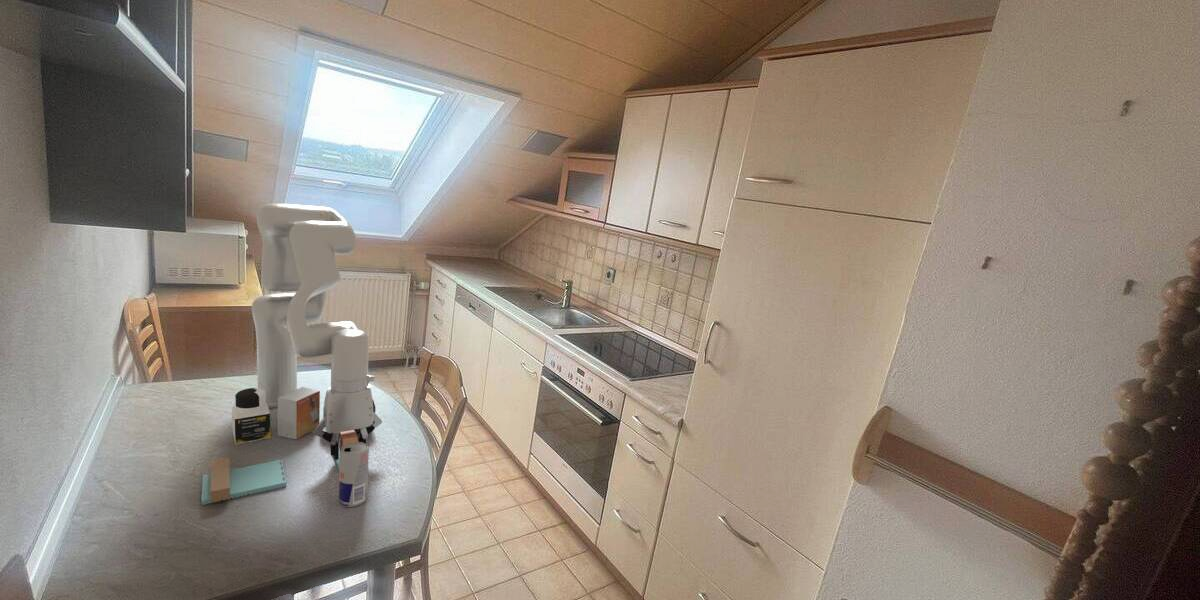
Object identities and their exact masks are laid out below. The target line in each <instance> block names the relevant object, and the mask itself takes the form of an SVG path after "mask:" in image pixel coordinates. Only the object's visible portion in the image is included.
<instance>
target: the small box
mask: <svg viewBox="0 0 1200 600" xmlns="http://www.w3.org/2000/svg"><path fill="white" fill-rule="evenodd" d="M320 396H321V391H320V390H318V389H315V388H314V389H312V388H310V387H309V388H308V387H304V386H301V387H299V388H297V390H295V391H293V392H290V393H288V394H286V395H283V396H280V397H278V407H277V437H284V438H288V439H292V440H298V439H300V438H301V437H303V436H305V435H307V434H309V433H311V432H313V430H314V429H315V428H316V426H317V425H318V424H319V423H320V421H321V420H320V415H321V413H320V408H321V407H320V406H321V403H320V401H321V397H320Z"/></svg>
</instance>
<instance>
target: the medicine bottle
mask: <svg viewBox="0 0 1200 600" xmlns="http://www.w3.org/2000/svg"><path fill="white" fill-rule="evenodd" d="M234 396H235V397H234V399H235V406H232V407H231V421H232V423H231V424H232V425H231V426H232V436H233V439H234V444H235V445H241V443H242V444H246V442H248V443H252V442H251V441H253V442H257V440H258V441H262V439H263V440H267V438H268V439H271V437H272V434H271V430H272V429H271V427H272V425H271V424H272V423H271V411H270V408H268V406H267V403H266V392H265V391H264V390H263V389H259V388H258V387H249V388H244V389H242V390H240V391H238V392H236V394H235V395H234Z"/></svg>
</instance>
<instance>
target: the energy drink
mask: <svg viewBox="0 0 1200 600" xmlns="http://www.w3.org/2000/svg"><path fill="white" fill-rule="evenodd" d="M368 446H369V445H368V444H367V443H366V444H365V443H362V442H358V441H357V442H352V443H348V444H346V445H344V446H343V447H342V448H341V451H340V467H339V469H338V472H339V474H338V475H339V479H338V480H339V481H338V483H339V484H338V486H339V487H338V489H339V490H338V503H339V504H340V505H341V506H343V507H346V508H353V507H354V508H355V507H357V506H360V505H362V504H363V503H365V502H366V501H367V500H368V494H369V493H368V492H369V491H368V490H369V485H368V484H369V456H370V455H369V454H370V453H369V451H370V450H369V447H368Z"/></svg>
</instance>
